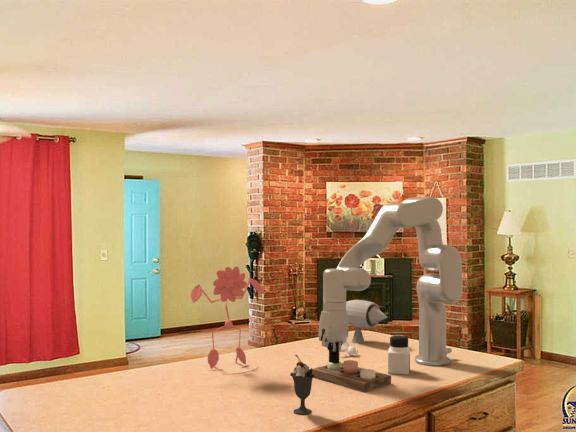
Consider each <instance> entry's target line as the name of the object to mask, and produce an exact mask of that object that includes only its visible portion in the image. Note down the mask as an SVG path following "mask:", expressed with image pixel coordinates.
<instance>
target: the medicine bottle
mask: <svg viewBox="0 0 576 432" xmlns="http://www.w3.org/2000/svg"><path fill="white" fill-rule="evenodd" d="M387 350H388V351H387V375H406V376H407V375H408V376H409V375H410V373H411V351H410V350H411V349H410V348H409V337H408V336H406V335H401V334H395V335H391V336H390V337H389V348H388V349H387Z"/></svg>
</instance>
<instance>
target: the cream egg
mask: <svg viewBox="0 0 576 432" xmlns="http://www.w3.org/2000/svg"><path fill="white" fill-rule="evenodd" d="M375 372H376V371H375V370H374V369H369V368H364V369H363V370H361V371H360V378H363V379H366V380H371V379H375Z"/></svg>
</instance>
